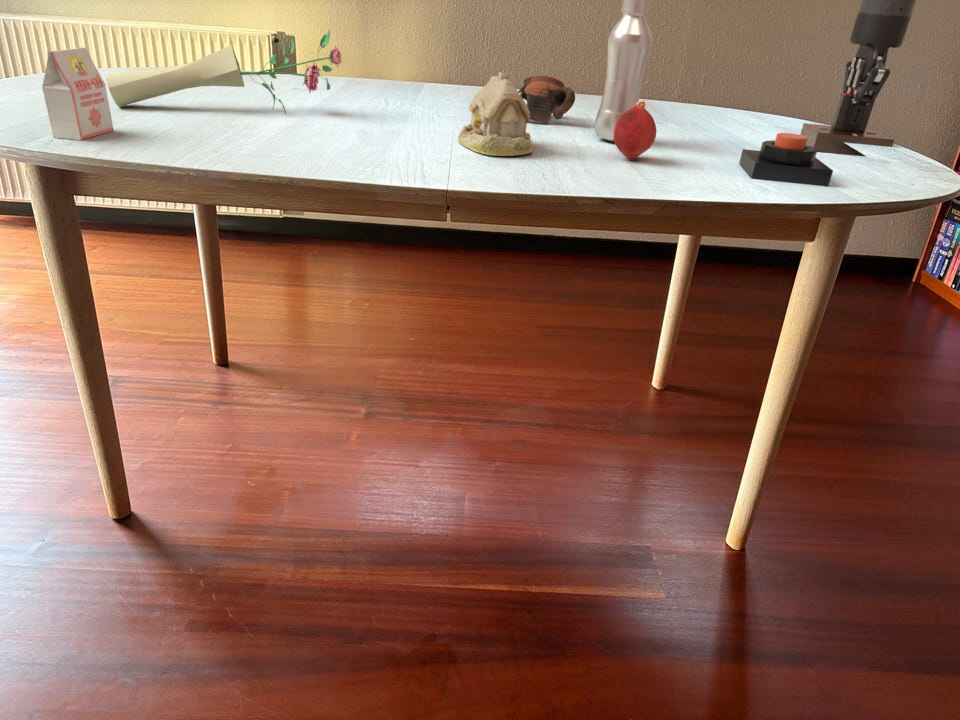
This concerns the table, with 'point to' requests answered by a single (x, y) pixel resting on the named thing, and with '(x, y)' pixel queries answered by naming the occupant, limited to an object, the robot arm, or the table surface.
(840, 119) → the dark grey rectangular block
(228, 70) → the flower vase
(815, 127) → the brown switch base
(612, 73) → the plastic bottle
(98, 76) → the white gable-top carton
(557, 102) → the pottery mug
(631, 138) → the onion
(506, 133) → the ceramic model
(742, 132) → the table surface
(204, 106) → the table surface
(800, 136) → the button
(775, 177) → the button housing
